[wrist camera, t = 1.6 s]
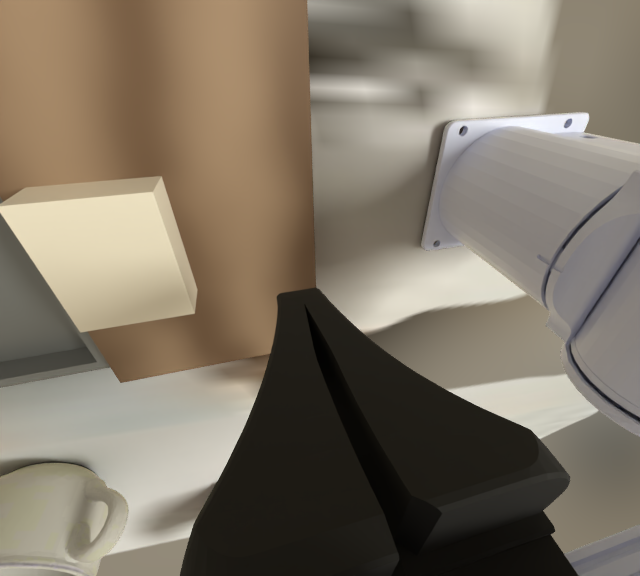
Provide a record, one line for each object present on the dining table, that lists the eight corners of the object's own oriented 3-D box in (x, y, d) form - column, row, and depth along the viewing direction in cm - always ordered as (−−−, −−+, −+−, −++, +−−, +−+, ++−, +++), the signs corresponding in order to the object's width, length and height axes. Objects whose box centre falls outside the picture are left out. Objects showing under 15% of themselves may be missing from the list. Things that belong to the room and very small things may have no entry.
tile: (161, 175, 13) (152, 191, 11) (197, 289, 17) (194, 313, 15) (25, 187, 12) (-5, 206, 11) (94, 305, 16) (80, 332, 14)
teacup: (33, 520, 30) (-17, 642, 24) (-75, 476, 23) (-185, 630, 17) (177, 472, 31) (165, 576, 25) (114, 417, 24) (76, 540, 18)
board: (293, -7, 13) (306, -20, 11) (309, 320, 23) (317, 344, 21) (-77, -14, 10) (-147, -30, 8) (130, 352, 21) (120, 382, 19)
